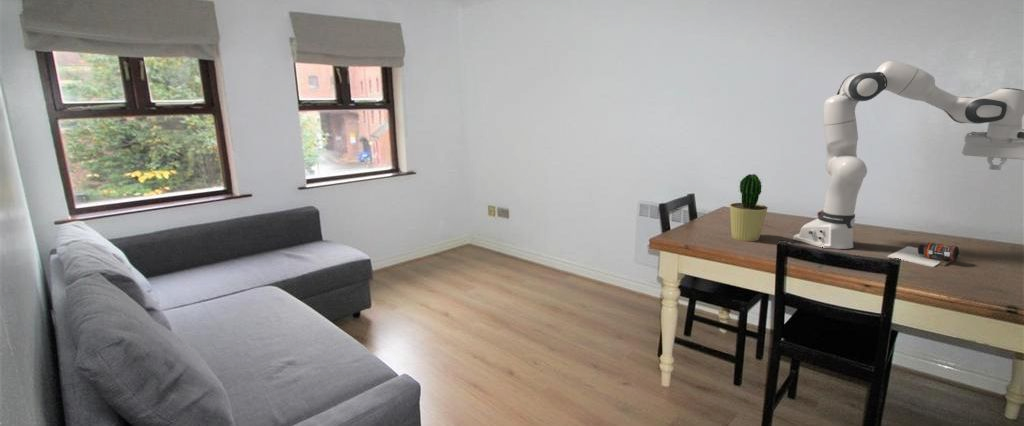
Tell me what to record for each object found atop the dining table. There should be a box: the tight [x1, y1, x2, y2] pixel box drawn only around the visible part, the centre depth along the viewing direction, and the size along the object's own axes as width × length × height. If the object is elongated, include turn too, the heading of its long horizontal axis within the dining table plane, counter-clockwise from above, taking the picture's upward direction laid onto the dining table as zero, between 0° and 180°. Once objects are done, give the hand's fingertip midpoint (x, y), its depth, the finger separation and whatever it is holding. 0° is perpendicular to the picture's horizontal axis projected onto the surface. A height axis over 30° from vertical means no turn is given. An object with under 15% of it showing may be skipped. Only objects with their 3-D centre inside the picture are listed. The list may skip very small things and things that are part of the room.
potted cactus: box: [729, 173, 768, 242], centre depth 217 cm, size 15×15×30 cm
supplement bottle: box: [917, 242, 960, 262], centre depth 188 cm, size 6×6×11 cm
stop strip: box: [938, 260, 953, 267], centre depth 186 cm, size 2×12×1 cm, turn 124°
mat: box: [886, 245, 943, 268], centre depth 193 cm, size 15×22×1 cm, turn 124°
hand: (994, 169), depth 183 cm, fingers closed
